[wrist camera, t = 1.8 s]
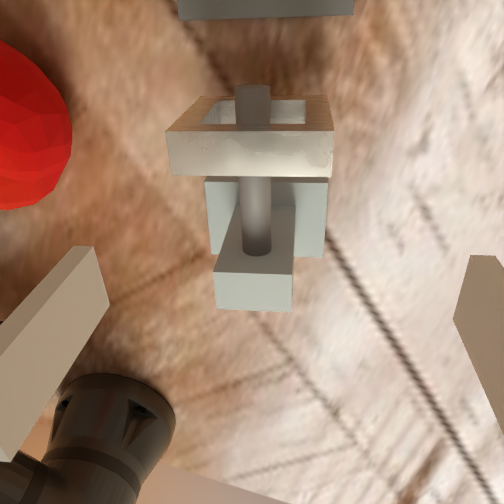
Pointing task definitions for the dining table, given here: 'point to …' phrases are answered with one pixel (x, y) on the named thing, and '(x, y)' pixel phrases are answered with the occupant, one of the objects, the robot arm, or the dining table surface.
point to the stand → (262, 224)
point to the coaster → (261, 8)
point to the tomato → (29, 131)
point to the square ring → (253, 139)
